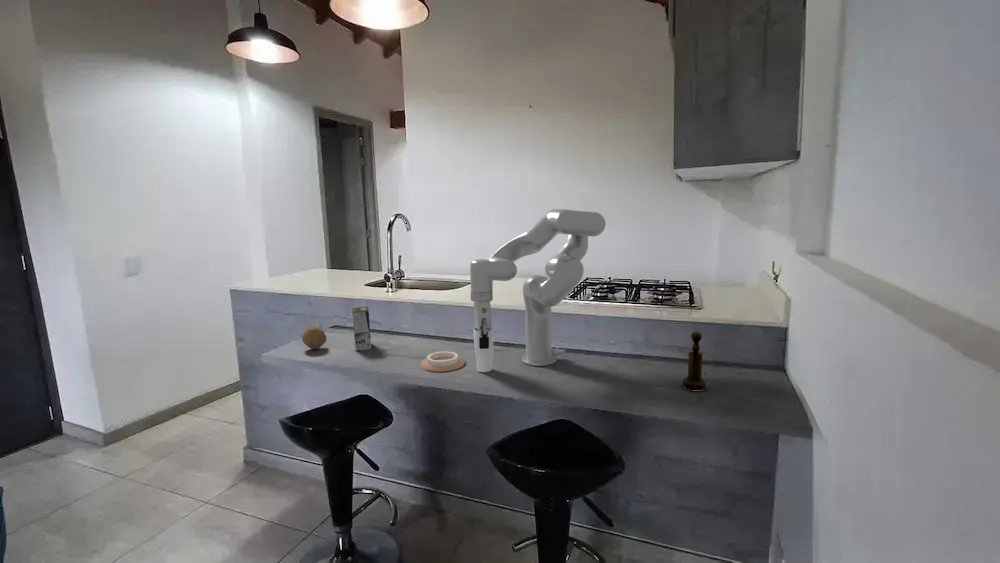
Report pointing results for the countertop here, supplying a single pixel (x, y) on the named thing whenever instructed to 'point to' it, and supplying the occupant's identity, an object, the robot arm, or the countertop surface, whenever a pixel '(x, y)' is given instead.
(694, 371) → the dark chess pawn
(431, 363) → the tan saucer
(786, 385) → the countertop surface
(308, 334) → the natural sponge
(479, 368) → the drinking glass
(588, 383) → the countertop surface
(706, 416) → the countertop surface
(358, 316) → the coffee box
